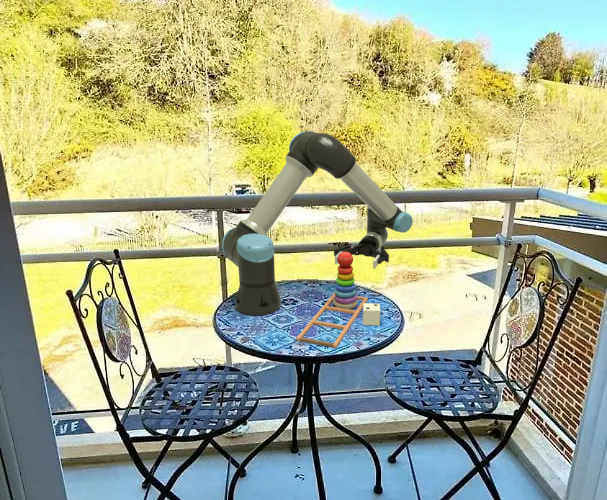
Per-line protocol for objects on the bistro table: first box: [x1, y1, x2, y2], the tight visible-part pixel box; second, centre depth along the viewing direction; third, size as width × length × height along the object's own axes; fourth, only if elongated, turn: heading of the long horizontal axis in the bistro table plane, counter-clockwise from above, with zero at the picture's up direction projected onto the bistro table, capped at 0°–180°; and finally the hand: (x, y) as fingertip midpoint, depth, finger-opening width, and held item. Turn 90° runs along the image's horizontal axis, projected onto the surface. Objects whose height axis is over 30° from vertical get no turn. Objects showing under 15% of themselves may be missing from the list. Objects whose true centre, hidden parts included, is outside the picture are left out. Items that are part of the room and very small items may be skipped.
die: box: [362, 302, 381, 326], centre depth 141 cm, size 5×5×5 cm
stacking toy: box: [332, 252, 358, 310], centre depth 150 cm, size 8×8×19 cm
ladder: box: [295, 292, 369, 349], centre depth 143 cm, size 12×34×1 cm, turn 158°
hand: (354, 262), depth 158 cm, fingers open, 13 cm apart
